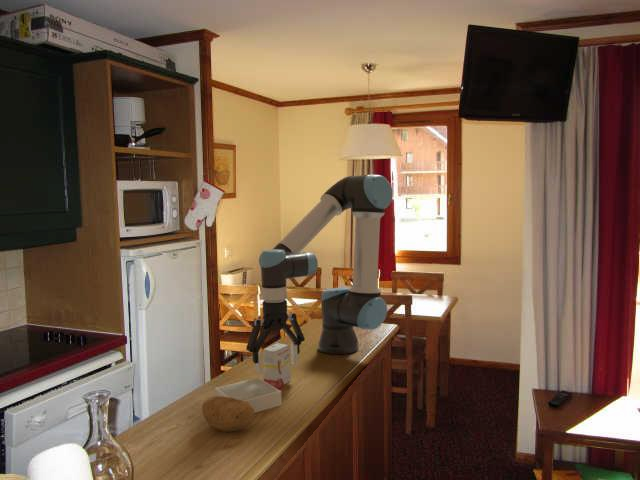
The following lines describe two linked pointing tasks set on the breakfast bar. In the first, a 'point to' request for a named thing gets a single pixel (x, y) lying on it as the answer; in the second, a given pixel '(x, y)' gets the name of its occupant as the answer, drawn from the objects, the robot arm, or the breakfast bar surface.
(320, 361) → the breakfast bar surface
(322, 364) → the breakfast bar surface
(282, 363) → the ink box
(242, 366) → the breakfast bar surface
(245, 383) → the block
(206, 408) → the potato
